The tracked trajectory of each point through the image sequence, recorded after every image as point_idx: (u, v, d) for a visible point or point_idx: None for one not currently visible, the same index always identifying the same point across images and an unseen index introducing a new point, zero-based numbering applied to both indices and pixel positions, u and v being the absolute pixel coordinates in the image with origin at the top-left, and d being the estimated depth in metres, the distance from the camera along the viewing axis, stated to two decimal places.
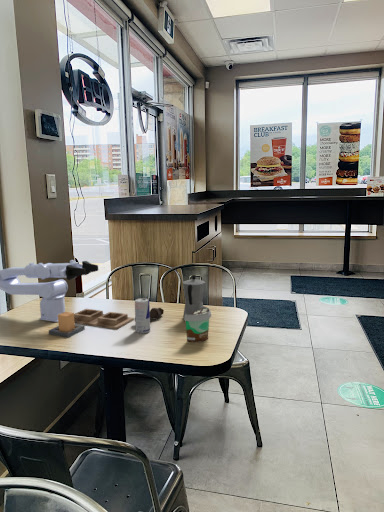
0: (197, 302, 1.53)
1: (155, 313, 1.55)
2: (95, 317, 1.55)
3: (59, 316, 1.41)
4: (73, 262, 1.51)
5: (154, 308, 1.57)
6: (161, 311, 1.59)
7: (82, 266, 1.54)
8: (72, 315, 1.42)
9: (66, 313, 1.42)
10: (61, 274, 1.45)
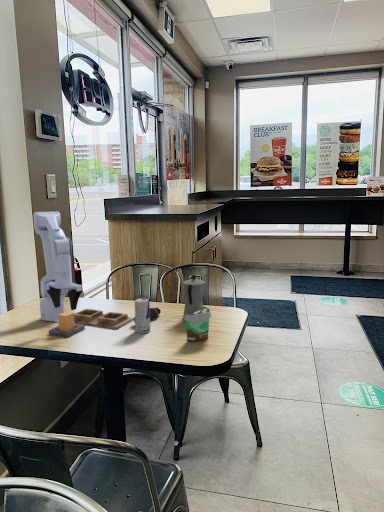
0: (197, 302, 1.53)
1: (153, 313, 1.55)
2: (95, 317, 1.55)
3: (59, 316, 1.41)
4: (58, 287, 1.37)
5: (152, 308, 1.57)
6: (158, 311, 1.59)
7: (71, 290, 1.38)
8: (72, 315, 1.42)
9: (66, 313, 1.42)
10: None
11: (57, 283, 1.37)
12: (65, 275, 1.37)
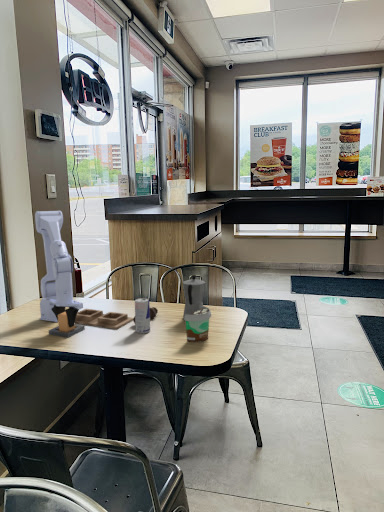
0: (197, 302, 1.53)
1: (151, 313, 1.56)
2: (95, 317, 1.55)
3: (59, 316, 1.41)
4: (59, 305, 1.38)
5: None
6: (156, 310, 1.60)
7: (72, 308, 1.39)
8: None
9: None
10: None
11: (58, 301, 1.39)
12: (66, 293, 1.38)
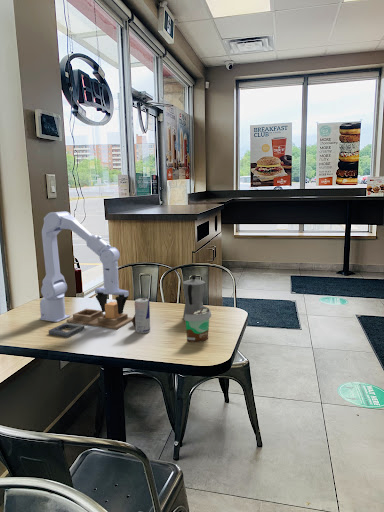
0: (197, 302, 1.53)
1: None
2: (95, 317, 1.55)
3: (106, 306, 1.50)
4: (107, 293, 1.48)
5: None
6: None
7: (119, 295, 1.49)
8: None
9: (112, 303, 1.52)
10: None
11: (106, 289, 1.48)
12: (113, 282, 1.48)
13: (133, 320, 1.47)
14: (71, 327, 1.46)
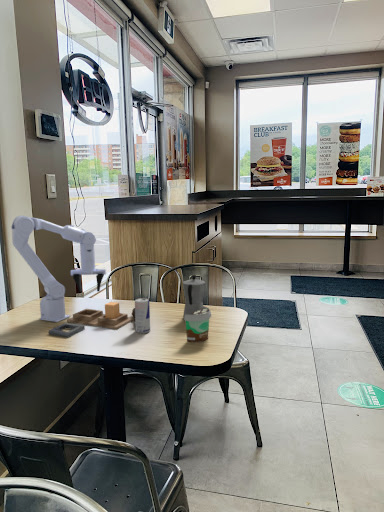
0: (197, 302, 1.53)
1: None
2: (95, 317, 1.55)
3: (106, 306, 1.50)
4: (87, 273, 1.61)
5: None
6: None
7: None
8: (118, 305, 1.52)
9: (112, 303, 1.52)
10: None
11: (85, 269, 1.61)
12: (92, 262, 1.62)
13: None
14: (71, 327, 1.46)
